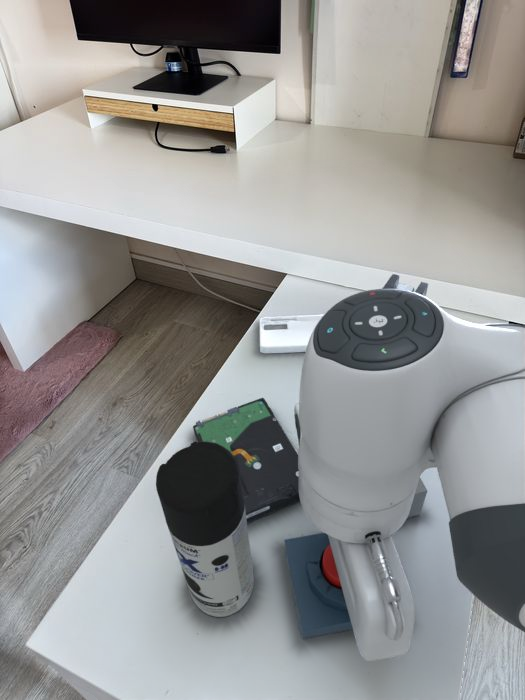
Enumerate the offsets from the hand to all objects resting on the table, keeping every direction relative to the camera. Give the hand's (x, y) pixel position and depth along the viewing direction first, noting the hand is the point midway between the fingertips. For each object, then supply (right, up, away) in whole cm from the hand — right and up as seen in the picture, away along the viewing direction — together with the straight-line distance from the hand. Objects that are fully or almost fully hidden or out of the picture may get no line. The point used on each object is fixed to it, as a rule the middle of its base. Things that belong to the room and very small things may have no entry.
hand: (344, 560), depth 48 cm
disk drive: (-9, +6, +15) cm, 18 cm away
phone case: (-1, +22, +32) cm, 39 cm away
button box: (0, -4, +3) cm, 5 cm away
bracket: (+12, +19, +27) cm, 36 cm away
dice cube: (+7, +2, +10) cm, 13 cm away
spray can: (-12, -4, +4) cm, 13 cm away
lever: (+9, +22, +21) cm, 31 cm away
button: (0, -1, +1) cm, 2 cm away
